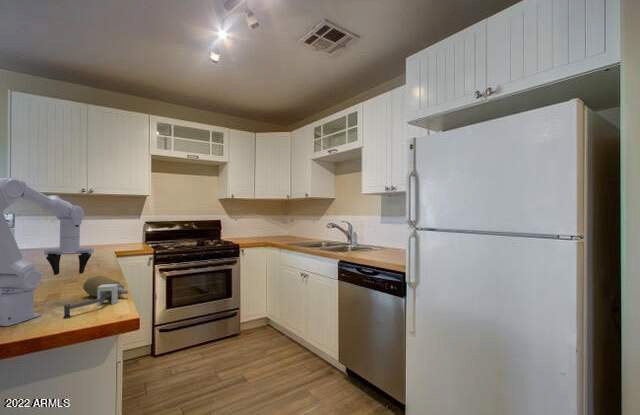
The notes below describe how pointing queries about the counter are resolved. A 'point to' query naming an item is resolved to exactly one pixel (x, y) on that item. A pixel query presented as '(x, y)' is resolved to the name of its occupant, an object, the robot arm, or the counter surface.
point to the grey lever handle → (68, 306)
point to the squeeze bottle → (95, 282)
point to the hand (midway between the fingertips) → (69, 273)
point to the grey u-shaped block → (108, 288)
